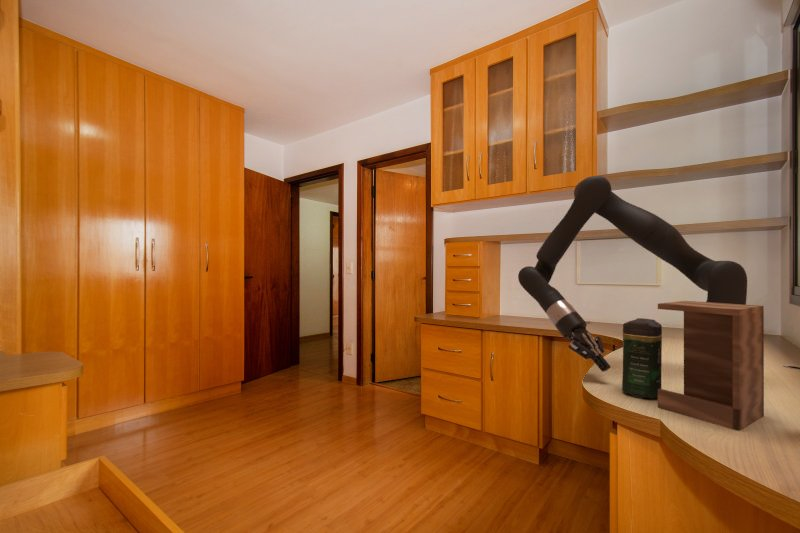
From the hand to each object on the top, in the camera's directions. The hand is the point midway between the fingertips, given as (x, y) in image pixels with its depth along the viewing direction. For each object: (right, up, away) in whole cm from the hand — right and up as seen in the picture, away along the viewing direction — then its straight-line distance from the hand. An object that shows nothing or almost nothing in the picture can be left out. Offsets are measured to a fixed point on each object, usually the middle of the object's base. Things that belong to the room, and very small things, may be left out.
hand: (606, 369), depth 100 cm
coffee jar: (+5, -4, -7) cm, 10 cm away
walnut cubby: (+12, -4, -19) cm, 23 cm away
